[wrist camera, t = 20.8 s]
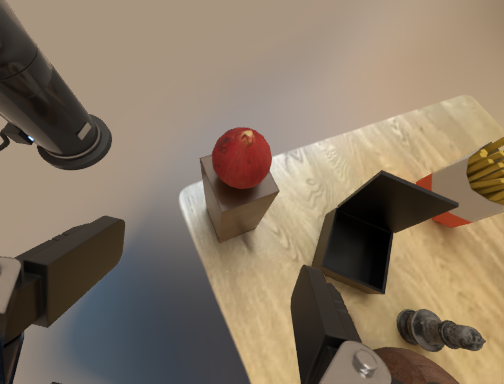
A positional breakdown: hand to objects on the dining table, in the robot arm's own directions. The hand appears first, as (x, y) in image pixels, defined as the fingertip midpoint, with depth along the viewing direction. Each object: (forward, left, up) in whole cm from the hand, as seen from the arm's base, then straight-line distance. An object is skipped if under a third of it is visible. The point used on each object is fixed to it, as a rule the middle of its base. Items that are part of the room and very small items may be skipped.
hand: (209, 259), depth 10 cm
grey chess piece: (+35, -3, -31) cm, 46 cm away
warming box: (+23, +8, -31) cm, 39 cm away
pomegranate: (+1, +11, -13) cm, 17 cm away
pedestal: (+1, +11, -31) cm, 33 cm away
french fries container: (+43, +21, -31) cm, 57 cm away
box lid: (+25, +13, -20) cm, 34 cm away
